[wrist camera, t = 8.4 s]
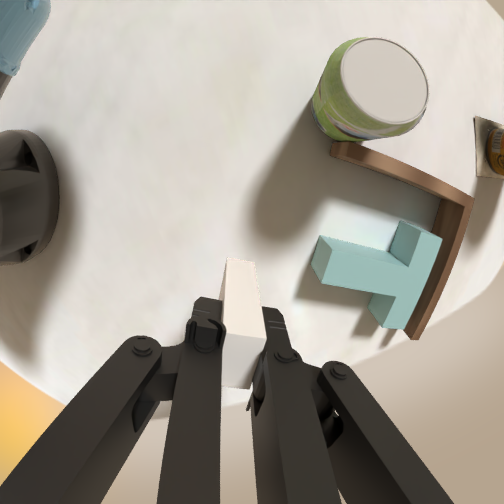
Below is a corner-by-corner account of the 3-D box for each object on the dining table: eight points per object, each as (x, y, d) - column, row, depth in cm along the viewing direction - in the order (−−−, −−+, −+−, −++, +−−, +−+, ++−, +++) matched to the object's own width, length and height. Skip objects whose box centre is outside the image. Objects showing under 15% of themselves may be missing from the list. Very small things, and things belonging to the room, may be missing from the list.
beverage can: (376, 140, 22) (465, 140, 11) (301, 148, 22) (355, 145, 11) (363, 77, 20) (441, 38, 9) (286, 81, 20) (325, 22, 9)
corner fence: (286, 305, 27) (293, 328, 24) (332, 142, 22) (349, 141, 18) (402, 321, 29) (418, 340, 25) (450, 191, 24) (474, 198, 20)
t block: (300, 296, 27) (308, 318, 23) (330, 198, 24) (345, 207, 20) (388, 310, 28) (403, 329, 25) (420, 227, 25) (442, 239, 21)
